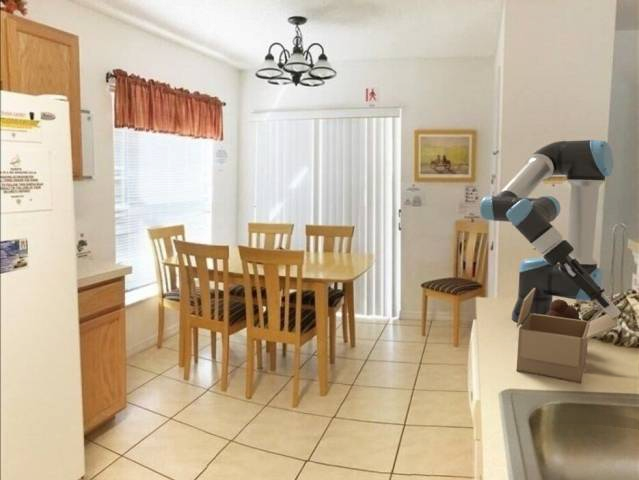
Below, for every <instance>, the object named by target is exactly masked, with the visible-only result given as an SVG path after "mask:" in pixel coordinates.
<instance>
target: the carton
mask: <svg viewBox="0 0 639 480" xmlns="http://www.w3.org/2000/svg"><path fill="white" fill-rule="evenodd" d="M589 325H590V321H587V320H583V319H581V320H576V319H569V318H562V317H555V316H547V315H540V314H530V315H529V316H528V317H527V319H526V320H525V321H524V323H523V324H521V325H520V326H519V327H518V328H519V329H518V341H517V356H516V357H517V358H516V372H519V373H525V374H529V375H530V374H531V375H536V376H541V377H545V378H549V379H550V378H551V379H557V380H560V381H567V382H570V383H571V382H572V383H577V384H581V383H582V382H583V381H582V380H583V376H584V373H585V368H586V365H587V357H588V345H589V339H586V336H587V332H588V329H589Z"/></svg>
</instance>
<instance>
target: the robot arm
mask: <svg viewBox="0 0 639 480" xmlns="http://www.w3.org/2000/svg"><path fill="white" fill-rule="evenodd" d="M613 157H614V156H613V151H612V149H611V146H610V144H609V143H608V142H607V141H605V140H596V139H589V140H588V139H587V140H558V141H554V142H551V143H549V144H547V145H545V146H543V147H541V148H539V149H537V150H536V151H535V152H533V153H532V154H531V155H530V156H529V157H528V158H527V159H526V161H525V166H523V168H521V170H520V171H519V172H518V173H517V174H516V175H515V176H514V177H513V178H512V179H511V180H510V181H509V182H508V183H507V184H506V185H505V186H504V187H503V188H502V189H501V191H499V193H498V194H497V195H495V196H494V195H488V196H487V195H486V196H484V197H483V198H482V200H481V202H480V205H479V210H480V216H481V217H482V218H483V219H484V220H487V221H493V222H506V223H507V222H508V223H511V225H512V226H513V227H515V229H516V230H517V231H519V233H520V234H521V235H522V236H523V237H524V238H525V239H526V240H527V241H528V242H529V244H531V246H533V247H532V250H533V251H537V252H538V253H539V255H543V257H532V258H526V259H523V260H522V261H521V262H520V264H519V265H520V266H519V271H518V274H519V275H518V277H519V278H518V289H517V290H518V293H517V300H516V301H515V304H514V307H513V310H512V312H511V320H512V321H514V322H515V323H517V322H518V318H519V315H520V311H521V307H522V303H523V300H524V299H525V297H526V296H527V295H528V294H529V293H530V292H531V290H532V289H533V288H536V289H535V292H534V296H533V300H532V304H531V308H530V311H529V314H528V315H527V316H526V318H525V319H524V320H523V322H522V323H521V324H520V325H522V324H523V323H524V321H525V320H526V319H527V317H528V316H529V315H530V314H540V315H546V314H547V312H548V311H550V304H551V303H552V302H553V298H554V297H558V298H563V299H564V298H565V299H571V300H576V301H582V302H593V301H594V302H595V303H596V304H597V305H598V306H599V307H600V308H601V309H602V310H603V311H604V312H605V313H606V314H608V315H609V317H610V318H611V319H613V318H615V317H616V316H618V317H619V315H621V314H622V312H621V310H620V309H619V308H618V307H617V306H616V305H615V304H614V303H613V302H612V300H611V299H609V297H608V296H607V295H606V294H605V291H606V290H605V288H601V285H602V281H603V277H604V275H603V270H602V269H601V268H600V267H598V261H597V260H596V259H595V258H594V247H595V236H596V226H597V225H596V224H597V215H598V206H599V205H598V204H599V196H600V195H599V193H600V186H602V185H603V184H604V183H605V181H606V177H609V176H611V175H612V173H613V170H614V169H613V167H614V158H613ZM559 175H560V176H566V181H567V182H568V183H569V184H570V196H569V207H568V220H567V230H566V239H564V235H562V234H561V233H560V232H559V230H557V228H556V227H555V226H554V225H552V223H551V222H553V221H555V219H556V218H557V217H558V216H559V215H560V213H561V209H562V208H561V204H560V202H559V200H558V199H557V198H555V197H554V196H553V195H552V196H551V195H542V196H539V197H537V198H535V197H529V196H530V195H532V193H533V192H534V191H535V190H536V188H538V186H539V185H540V184H541V183H542V182H543V181H544V180H547V179H549V178H551V177H552V176H559Z"/></svg>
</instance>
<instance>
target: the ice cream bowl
mask: <svg viewBox="0 0 639 480" xmlns="http://www.w3.org/2000/svg"><path fill="white" fill-rule="evenodd" d="M546 315H547V316H555V317H562V318H569V319H576V320H582V318H580V313H579V311H578V310H577V309H576V307H574V306H573V305H569V304H568V303H567V301H565V300H563V299H559V298H557V299H555V300H552V303H551V304H550V311H548V312H547V314H546Z"/></svg>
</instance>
